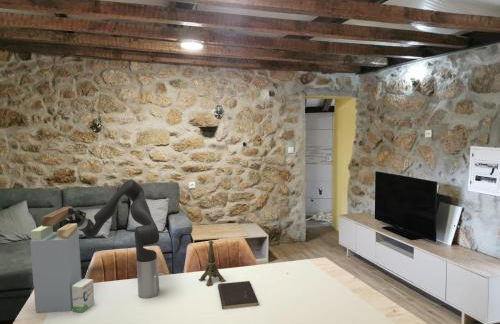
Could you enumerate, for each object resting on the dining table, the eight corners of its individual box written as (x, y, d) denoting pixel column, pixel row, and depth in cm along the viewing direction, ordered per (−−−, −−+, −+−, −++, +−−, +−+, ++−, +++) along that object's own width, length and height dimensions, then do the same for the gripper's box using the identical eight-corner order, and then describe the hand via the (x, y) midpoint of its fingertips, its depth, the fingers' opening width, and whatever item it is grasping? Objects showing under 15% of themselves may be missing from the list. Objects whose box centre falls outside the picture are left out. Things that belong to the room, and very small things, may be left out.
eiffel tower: (215, 275, 197) (214, 229, 195) (226, 281, 189) (224, 233, 186) (198, 280, 191) (196, 233, 189) (208, 286, 183) (206, 237, 180)
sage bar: (52, 232, 169) (52, 224, 169) (41, 240, 158) (40, 230, 158) (44, 233, 169) (43, 224, 169) (31, 240, 158) (30, 231, 158)
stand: (82, 297, 174) (78, 231, 171) (71, 311, 161) (66, 239, 158) (50, 299, 173) (45, 232, 170) (35, 312, 160) (30, 241, 157)
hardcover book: (249, 285, 184) (249, 280, 184) (258, 306, 162) (258, 301, 162) (217, 288, 182) (217, 283, 182) (222, 310, 159) (222, 305, 159)
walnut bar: (73, 214, 179) (72, 206, 178) (51, 226, 157) (51, 217, 157) (64, 214, 179) (64, 206, 178) (42, 226, 157) (41, 217, 156)
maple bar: (77, 231, 170) (76, 223, 169) (67, 238, 159) (66, 229, 159) (68, 232, 170) (68, 223, 169) (57, 239, 159) (57, 230, 158)
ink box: (85, 302, 168) (83, 277, 167) (95, 303, 167) (93, 278, 166) (72, 312, 160) (70, 285, 159) (82, 313, 159) (81, 286, 158)
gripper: (64, 213, 190) (49, 203, 175) (92, 212, 191) (80, 201, 176) (62, 228, 187) (47, 218, 171) (91, 226, 188) (78, 217, 172)
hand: (64, 210), depth 174 cm, fingers closed on walnut bar, 4 cm apart
